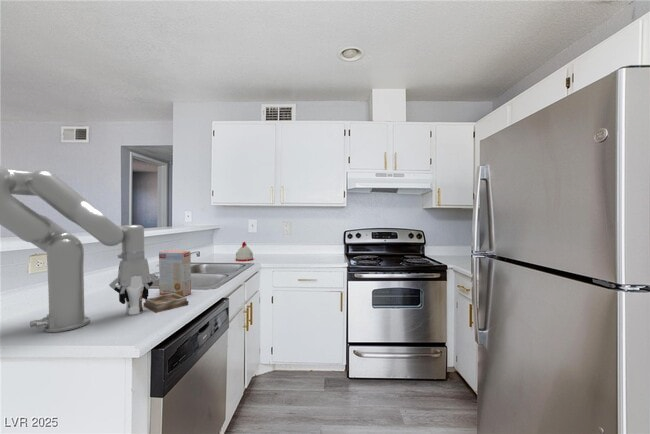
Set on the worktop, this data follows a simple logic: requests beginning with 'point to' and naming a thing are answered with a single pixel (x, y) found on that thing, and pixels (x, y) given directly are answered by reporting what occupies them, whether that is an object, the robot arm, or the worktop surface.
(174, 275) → the cracker box
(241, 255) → the cream dome with knob
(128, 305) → the beer glass
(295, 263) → the worktop surface
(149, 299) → the brown square tray
